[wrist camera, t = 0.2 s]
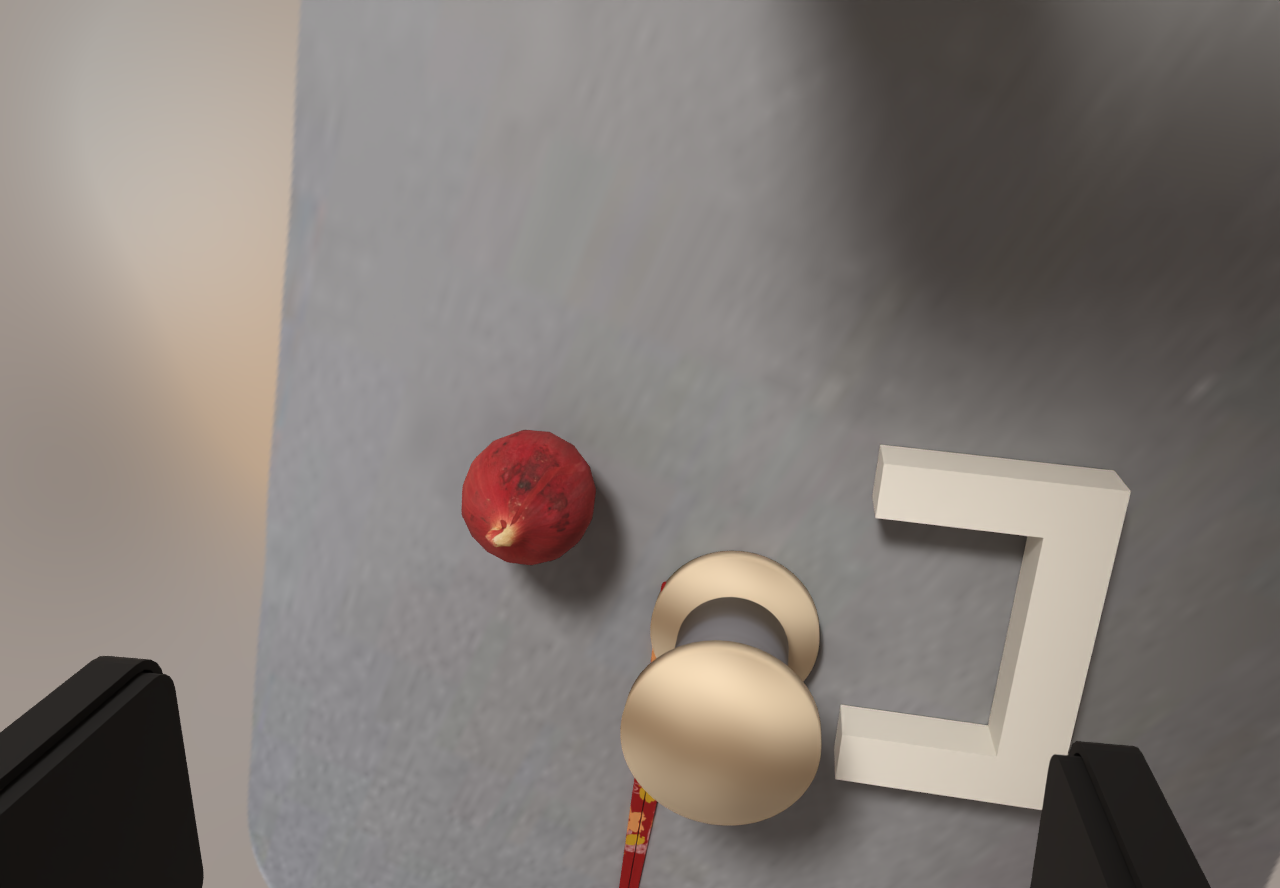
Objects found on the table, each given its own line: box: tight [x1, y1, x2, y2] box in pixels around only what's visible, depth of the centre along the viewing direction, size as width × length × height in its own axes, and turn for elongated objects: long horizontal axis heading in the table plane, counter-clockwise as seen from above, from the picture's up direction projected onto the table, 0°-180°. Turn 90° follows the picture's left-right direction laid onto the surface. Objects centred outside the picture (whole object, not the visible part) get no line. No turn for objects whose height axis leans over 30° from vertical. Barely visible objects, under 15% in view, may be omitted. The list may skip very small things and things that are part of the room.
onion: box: [462, 430, 596, 565], centre depth 46 cm, size 6×6×8 cm
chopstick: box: [619, 582, 666, 888], centre depth 54 cm, size 2×24×1 cm, turn 173°
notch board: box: [834, 445, 1131, 810], centre depth 47 cm, size 16×10×2 cm, turn 176°
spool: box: [621, 551, 821, 825], centre depth 46 cm, size 8×8×10 cm
